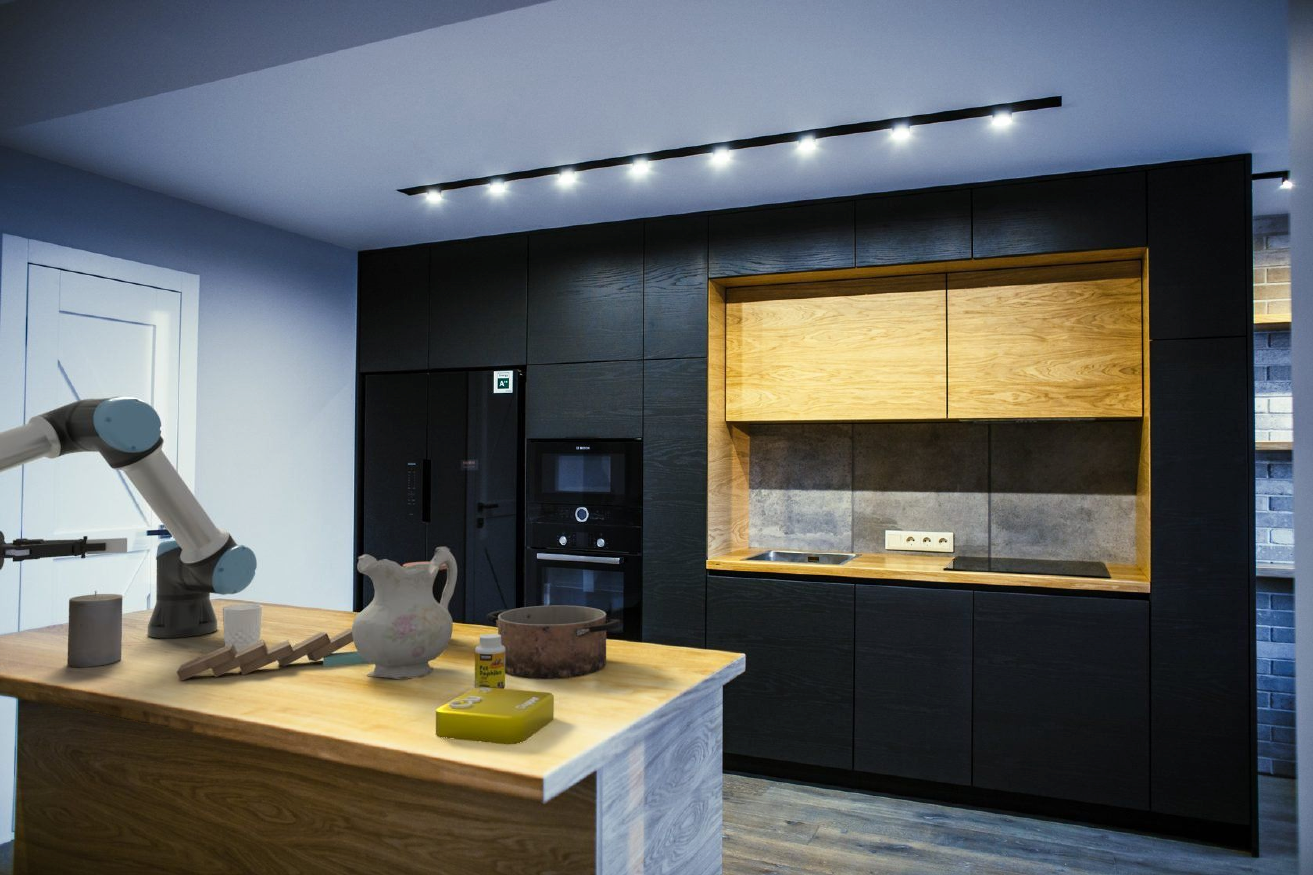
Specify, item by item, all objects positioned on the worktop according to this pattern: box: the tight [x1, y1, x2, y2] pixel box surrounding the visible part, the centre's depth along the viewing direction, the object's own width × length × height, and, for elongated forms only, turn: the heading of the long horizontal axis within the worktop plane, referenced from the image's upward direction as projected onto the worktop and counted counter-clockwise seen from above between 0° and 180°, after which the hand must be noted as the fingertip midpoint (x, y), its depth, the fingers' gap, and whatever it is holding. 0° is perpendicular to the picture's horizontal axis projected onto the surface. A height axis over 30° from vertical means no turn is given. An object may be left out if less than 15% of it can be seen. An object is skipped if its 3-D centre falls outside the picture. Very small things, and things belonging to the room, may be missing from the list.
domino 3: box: [239, 639, 294, 676], centre depth 176 cm, size 5×2×10 cm
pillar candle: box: [67, 590, 124, 668], centre depth 183 cm, size 10×10×15 cm
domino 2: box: [211, 639, 268, 678], centre depth 174 cm, size 5×2×10 cm
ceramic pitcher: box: [351, 545, 458, 680], centre depth 176 cm, size 22×20×25 cm
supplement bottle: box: [474, 633, 506, 689], centre depth 160 cm, size 6×6×10 cm
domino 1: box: [176, 643, 237, 682], centre depth 171 cm, size 5×2×10 cm
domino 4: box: [276, 631, 331, 667], centre depth 182 cm, size 5×2×10 cm
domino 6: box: [322, 650, 370, 667], centre depth 184 cm, size 5×2×10 cm
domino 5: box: [306, 628, 354, 662], centre depth 185 cm, size 5×2×10 cm
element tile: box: [435, 687, 555, 745], centre depth 139 cm, size 15×15×5 cm
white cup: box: [222, 603, 263, 651], centre depth 193 cm, size 8×8×10 cm
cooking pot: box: [486, 604, 622, 680], centre depth 180 cm, size 30×22×11 cm
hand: (126, 545), depth 168 cm, fingers closed
